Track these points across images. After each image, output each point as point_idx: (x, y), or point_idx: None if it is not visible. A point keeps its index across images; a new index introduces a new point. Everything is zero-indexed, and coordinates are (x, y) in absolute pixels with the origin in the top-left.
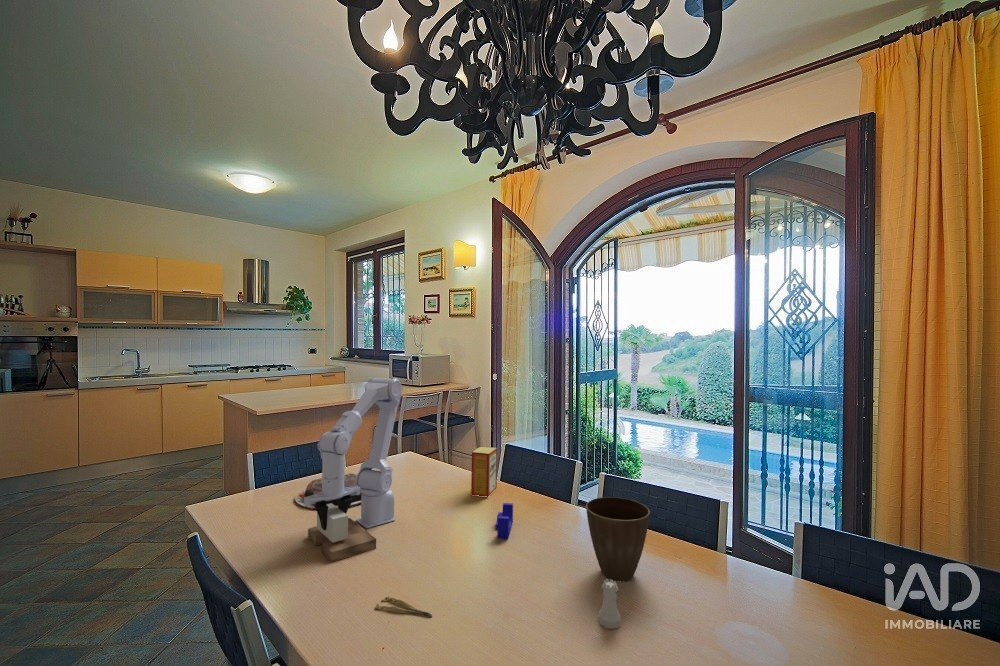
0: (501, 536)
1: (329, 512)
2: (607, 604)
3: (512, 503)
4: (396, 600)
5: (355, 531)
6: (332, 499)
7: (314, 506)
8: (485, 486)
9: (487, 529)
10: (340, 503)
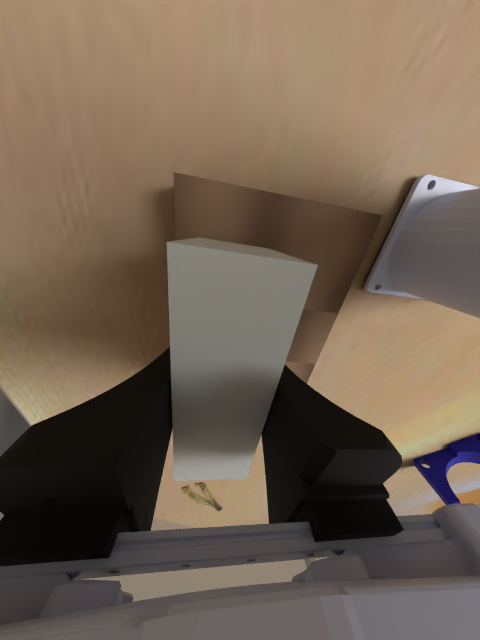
0: (417, 466)
1: (197, 418)
2: (305, 562)
3: None
4: (207, 494)
5: (294, 348)
6: (207, 544)
7: (63, 417)
8: None
9: (445, 439)
10: (280, 458)
